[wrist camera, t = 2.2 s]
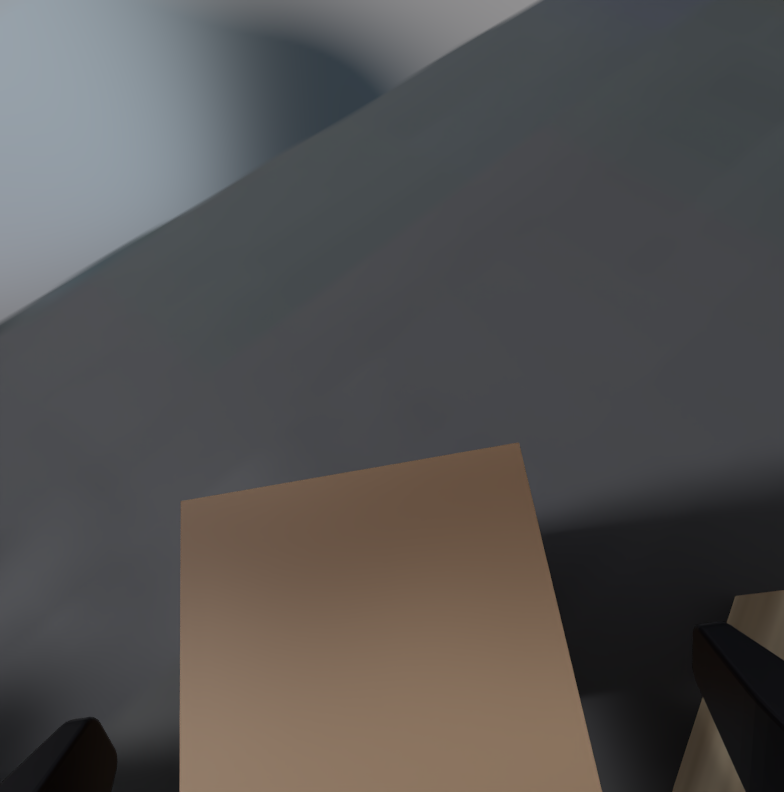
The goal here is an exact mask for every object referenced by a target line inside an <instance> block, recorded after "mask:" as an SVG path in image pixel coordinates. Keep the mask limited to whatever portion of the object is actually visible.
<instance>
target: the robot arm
mask: <svg viewBox="0 0 784 792" xmlns="http://www.w3.org/2000/svg"><path fill="white" fill-rule="evenodd" d="M692 668H693V673H694V677H695V680H696V683H697V685H698V687H699V690H700V692H701V694H702V696H703V698H704V701H705V703H706V705H707V707H708V710H709V712H710V714H711V716H712V719H713V721H714V723H715V725H716V727H717V730H718V732H719V734H720V736H721V739H722V741H723V743H724V745H725V747H726V750H727V752H728V754H729V756H730V759H731V761H732V763H733V765H734V768H735V770H736V772H737V774H738V776H739V779H740V781H741V783H742V785H743V787H744V789H745V791H746V792H784V660H783V659H781V658H780V657H778V656H777V655H775V654H774V653H772V652H771V651H769V650H768V649H766V648H765V647H763V646H762V645H760V644H759V643H757V642H756V641H754V640H753V639H751V638H750V637H748V636H747V635H745V634H744V633H742V632H741V631H739V630H738V629H736V628H735V627H733V626H732V625H730V624H728V623H726V622H722V621H717V622H710V623H704V624H698V625H696V626H695V627H694V629H693V642H692ZM116 769H117V754H116V750H115V748H114V746H113V744H112V743H111V741H110V739H109V737H108V736H107V734H106V732H105V730H104V729H103V727H102V725H101V723H100V722H99V720H98V719H96V718H94V717H87V718H80V719H74V720H70V721H68V722H66V723H64V724H63V725H62V726H61V727H60V728H58V729H57V730H56V731H55V732H54V733H53V734H52V735H51V736H50V737H49V738H48V739H47V740H46V741H45V742H44V743H43V744H42V745H41V746H40V747H39V748H37V749H36V750H35V751H34V752H33V753H32V754H31V755H30V756H29V757H28V758H27V759H26V760H25V761H24V762H23V763H22V764H21V765H20V766H19V767H17V768H16V769H15V770H14V771H13V772H12V773H11V774H10V775H9V776H8V777H7V778H6V779H5V780H4V781H3V782H2V783H1V784H0V792H111V790H112V786H113V782H114V778H115V773H116Z"/></svg>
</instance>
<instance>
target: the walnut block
mask: <svg viewBox="0 0 784 792" xmlns="http://www.w3.org/2000/svg"><path fill="white" fill-rule="evenodd" d="M180 792H602V789H601V785H600V781H599V777H598V773H597V768H596V764H595V760H594V756H593V752H592V747H591V743H590V739H589V735H588V731H587V726H586V722H585V718H584V714H583V710H582V705H581V701H580V697H579V693H578V689H577V685H576V680H575V676H574V672H573V668H572V664H571V659H570V655H569V651H568V647H567V643H566V638H565V634H564V630H563V626H562V622H561V617H560V613H559V609H558V605H557V601H556V596H555V592H554V588H553V584H552V580H551V575H550V571H549V567H548V563H547V559H546V554H545V550H544V546H543V542H542V538H541V533H540V529H539V525H538V521H537V517H536V513H535V508H534V504H533V500H532V496H531V492H530V487H529V483H528V479H527V475H526V471H525V466H524V462H523V458H522V454H521V450H520V445H519V443H513V444H508V445H502V446H496V447H490V448H485V449H479V450H473V451H467V452H462V453H456V454H450V455H444V456H439V457H433V458H427V459H421V460H416V461H410V462H404V463H398V464H393V465H387V466H381V467H375V468H369V469H364V470H358V471H352V472H346V473H341V474H335V475H329V476H323V477H318V478H312V479H306V480H300V481H295V482H289V483H283V484H277V485H272V486H266V487H260V488H254V489H249V490H243V491H237V492H231V493H226V494H220V495H214V496H208V497H203V498H197V499H191V500H185V501H181V586H180Z"/></svg>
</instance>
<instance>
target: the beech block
mask: <svg viewBox="0 0 784 792" xmlns="http://www.w3.org/2000/svg"><path fill="white" fill-rule="evenodd" d="M727 623H728V624H730V625H732V626H733V627H735V628H736V629H738V630H739V631H741V632H742V633H744V634H745V635H747V636H748V637H750V638H751V639H753V640H754V641H756V642H757V643H759V644H760V645H762V646H763V647H765V648H766V649H768V650H769V651H771V652H772V653H774V654H775V655H777V656H778V657H780V658H781V659H783V660H784V590H781V591H773V592H765V593H756V594H748V595H740V596H735V598H734V601H733V605H732V608H731V611H730V614H729V617H728V620H727ZM672 792H746V791H745V789H744V787H743V785H742V783H741V781H740V779H739V776H738V774H737V772H736V770H735V768H734V765H733V763H732V761H731V759H730V756H729V754H728V752H727V750H726V747H725V745H724V743H723V741H722V739H721V736H720V734H719V732H718V730H717V727H716V725H715V723H714V721H713V719H712V716H711V714H710V712H709V710H708V707H707V705H706V703H705V701H704V698H703V697H702V700H701V704H700V707H699V710H698V713H697V716H696V719H695V722H694V725H693V728H692V731H691V734H690V738H689V741H688V744H687V747H686V750H685V753H684V756H683V759H682V762H681V765H680V769H679V772H678V775H677V778H676V781H675V784H674V787H673V790H672Z"/></svg>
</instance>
